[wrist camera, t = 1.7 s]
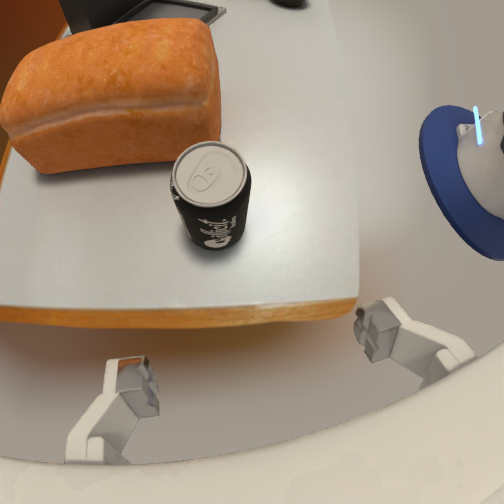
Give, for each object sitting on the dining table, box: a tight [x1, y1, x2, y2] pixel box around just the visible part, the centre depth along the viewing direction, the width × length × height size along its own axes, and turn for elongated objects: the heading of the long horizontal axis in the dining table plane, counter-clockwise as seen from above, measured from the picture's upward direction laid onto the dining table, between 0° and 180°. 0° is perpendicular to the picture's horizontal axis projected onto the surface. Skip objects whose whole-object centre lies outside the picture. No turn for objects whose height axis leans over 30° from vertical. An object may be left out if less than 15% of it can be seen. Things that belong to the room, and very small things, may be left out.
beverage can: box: [170, 141, 251, 250], centre depth 29 cm, size 7×7×12 cm
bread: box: [0, 18, 221, 174], centre depth 30 cm, size 14×26×16 cm, turn 93°
